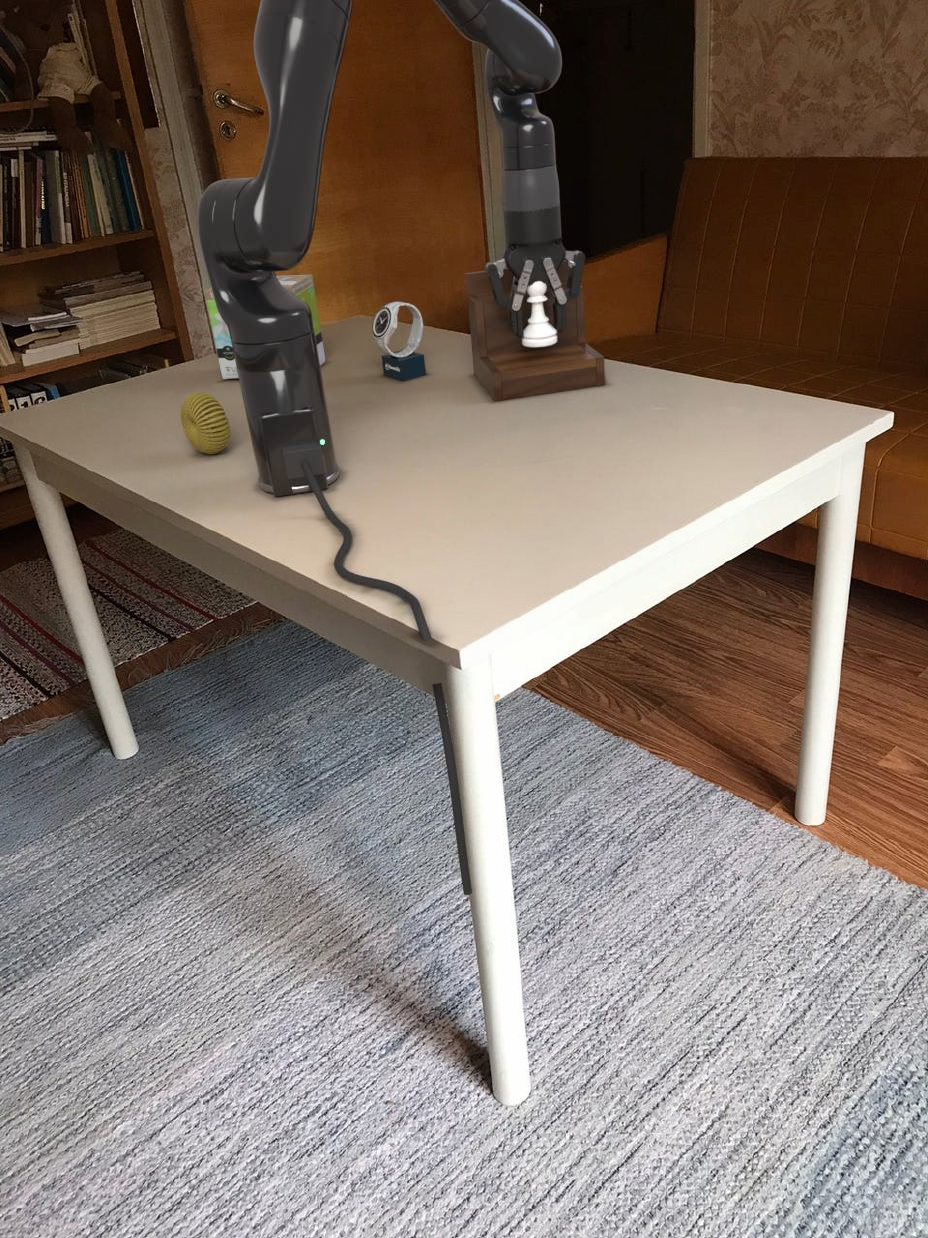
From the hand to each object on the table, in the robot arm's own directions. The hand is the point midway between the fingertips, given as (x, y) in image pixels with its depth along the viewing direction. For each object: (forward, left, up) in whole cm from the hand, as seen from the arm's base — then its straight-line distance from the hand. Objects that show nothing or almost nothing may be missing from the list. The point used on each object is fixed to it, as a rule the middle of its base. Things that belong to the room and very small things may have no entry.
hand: (539, 333), depth 141 cm
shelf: (+3, 0, -7) cm, 8 cm away
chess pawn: (0, 0, -2) cm, 2 cm away
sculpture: (-8, +47, -8) cm, 48 cm away
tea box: (+31, +38, -8) cm, 50 cm away
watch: (+17, +18, -8) cm, 26 cm away
